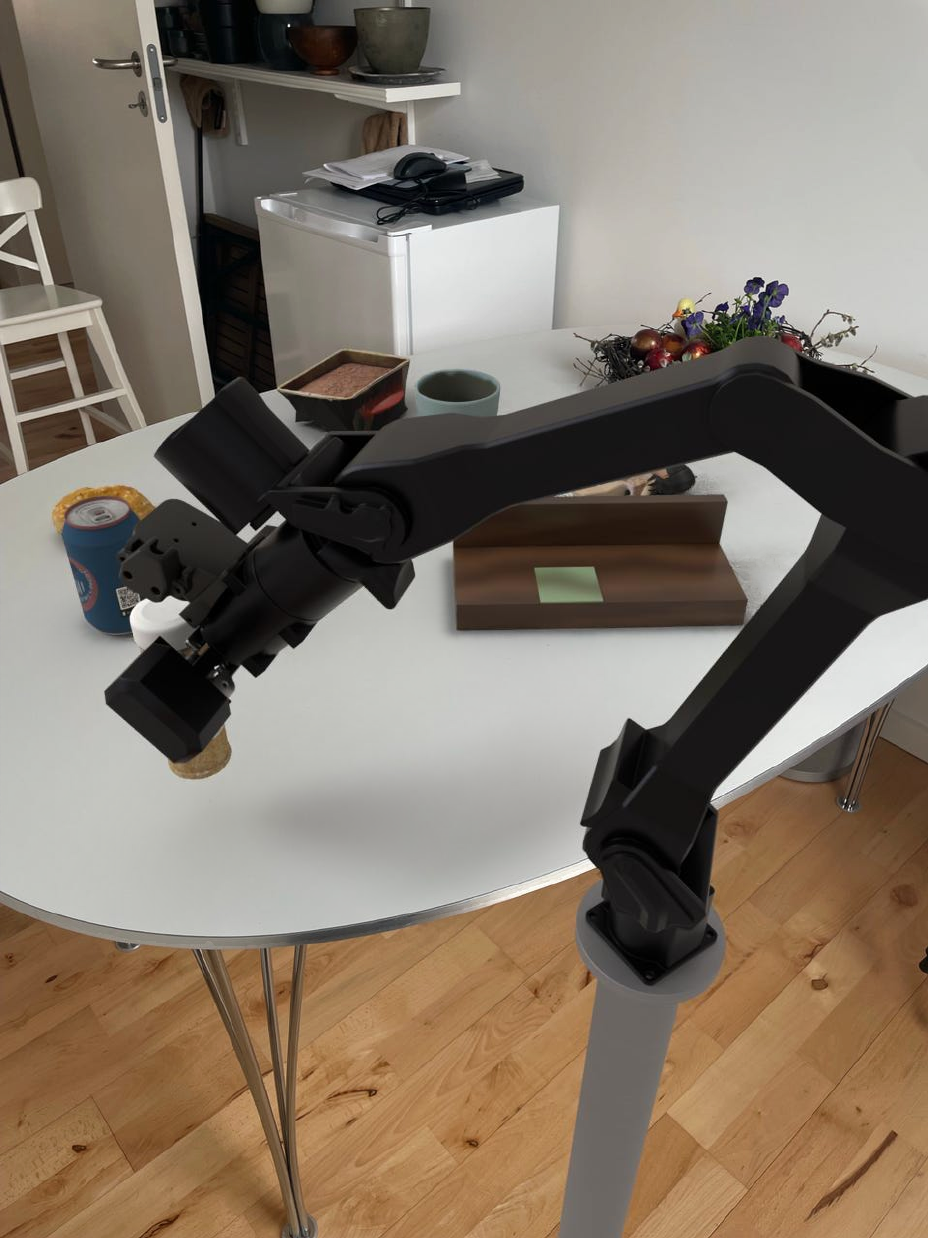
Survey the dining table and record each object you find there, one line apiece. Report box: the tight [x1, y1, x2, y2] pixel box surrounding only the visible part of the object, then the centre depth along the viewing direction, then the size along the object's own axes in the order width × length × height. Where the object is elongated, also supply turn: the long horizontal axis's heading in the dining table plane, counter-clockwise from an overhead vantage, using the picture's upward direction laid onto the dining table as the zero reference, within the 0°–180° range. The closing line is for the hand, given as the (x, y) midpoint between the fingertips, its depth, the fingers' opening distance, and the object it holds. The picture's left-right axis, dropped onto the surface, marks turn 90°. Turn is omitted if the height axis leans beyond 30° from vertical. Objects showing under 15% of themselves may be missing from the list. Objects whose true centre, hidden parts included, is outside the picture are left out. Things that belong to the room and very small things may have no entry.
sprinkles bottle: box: [130, 596, 233, 781], centre depth 64 cm, size 5×5×14 cm
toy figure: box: [572, 464, 698, 496], centre depth 110 cm, size 7×6×15 cm
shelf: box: [452, 493, 749, 631], centre depth 93 cm, size 12×28×8 cm, turn 92°
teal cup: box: [414, 368, 501, 417], centre depth 113 cm, size 10×10×12 cm
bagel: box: [50, 484, 156, 535], centre depth 104 cm, size 10×11×5 cm
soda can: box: [61, 496, 146, 636], centre depth 88 cm, size 7×7×12 cm
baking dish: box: [276, 348, 411, 432], centre depth 128 cm, size 14×18×10 cm
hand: (166, 686), depth 64 cm, fingers closed on sprinkles bottle, 4 cm apart
